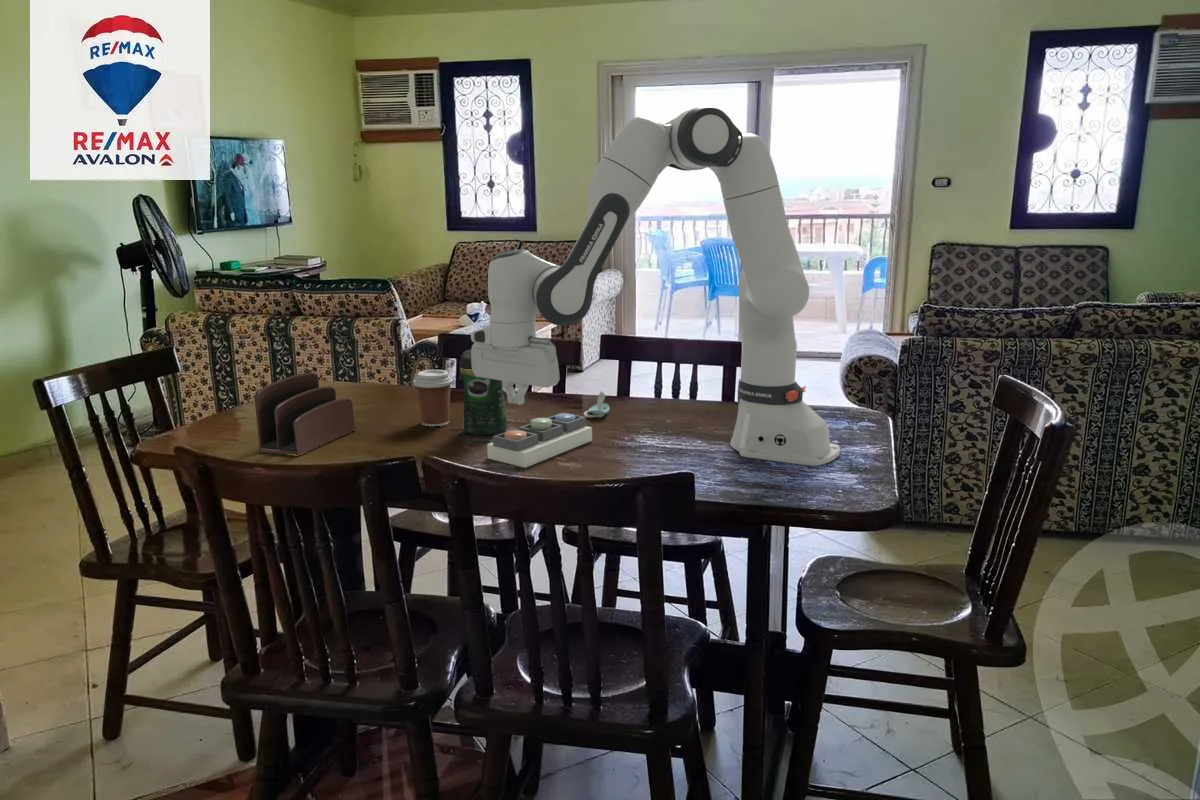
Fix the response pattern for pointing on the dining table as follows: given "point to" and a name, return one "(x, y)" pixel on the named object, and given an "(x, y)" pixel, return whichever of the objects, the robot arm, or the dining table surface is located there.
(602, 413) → the pacifier
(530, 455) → the button panel
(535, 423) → the sage button
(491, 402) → the coffee jar
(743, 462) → the dining table surface
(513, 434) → the terracotta button
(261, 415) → the letter holder
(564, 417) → the blue button
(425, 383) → the coffee cup
